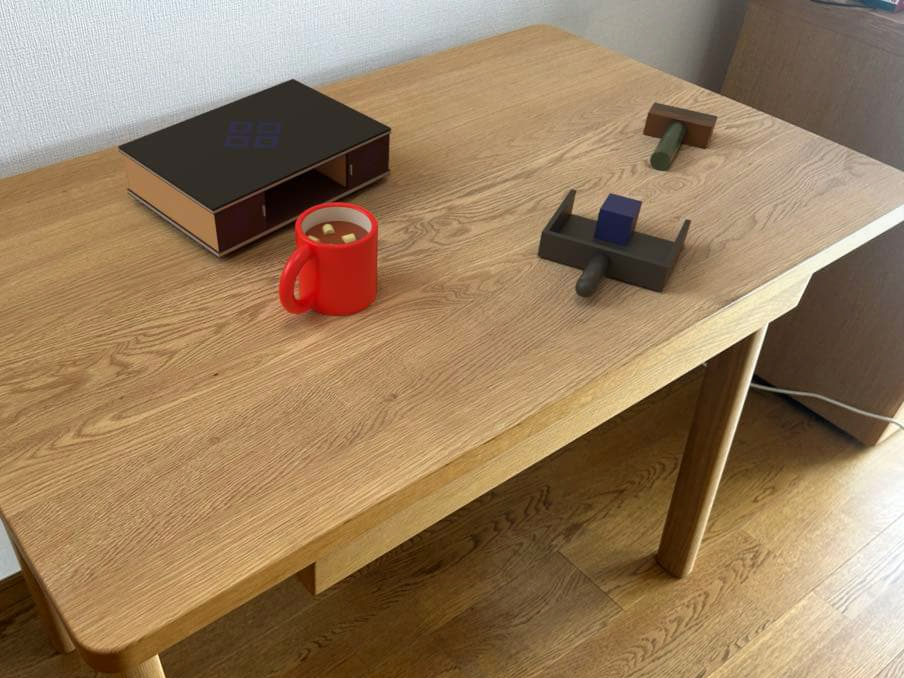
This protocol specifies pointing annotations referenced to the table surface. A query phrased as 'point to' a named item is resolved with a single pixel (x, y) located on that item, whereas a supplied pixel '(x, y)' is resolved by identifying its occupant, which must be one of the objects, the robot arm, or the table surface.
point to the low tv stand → (255, 164)
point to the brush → (676, 131)
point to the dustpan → (607, 251)
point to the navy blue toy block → (617, 219)
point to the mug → (332, 261)
